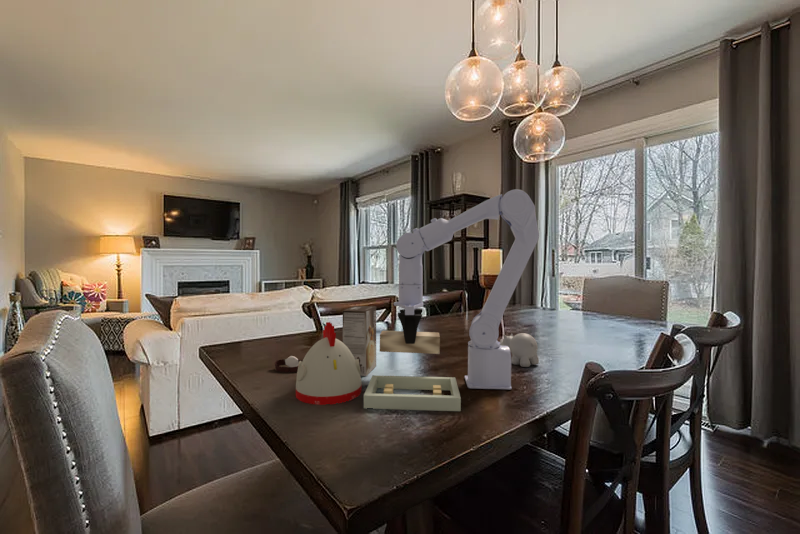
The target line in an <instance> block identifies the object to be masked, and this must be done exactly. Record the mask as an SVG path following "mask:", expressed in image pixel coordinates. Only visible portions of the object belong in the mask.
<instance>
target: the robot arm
mask: <svg viewBox="0 0 800 534" xmlns="http://www.w3.org/2000/svg"><path fill="white" fill-rule="evenodd" d="M500 217H501V218H502V219H503V220H504V221H505V223H506V224H508V226H509V228H510V230H511V233H512V235H513V236H514V241H513V244H512V245H511V247H510V250H509V251H508V253H507V256H506V258H505V260H504V263H503V265H502V267H501V268H500V271H499V273H498V275H497V277H496V279H495V281H494V283H493V286H492V288H491V290H490V293H489V295H488V297H487V299H486V301H485V303H484V304H483V307H482V308H481V310H480V312H479V313H478V314H476V315H475V316H474V317H473V319H472V320H471V325H470V327H469V330H468V332H469V333H468V334H469V338H470V340H469V341H468V342H467V344H468V345H467V375H464V380H465V384H466V386H467V388H468V389H480V390H481V389H483V390H512V363H511V358H512V352H511V351H510V349H509V347H508V346H502V345H500V341H498V339H499V336H500V335H499V333H500V332H499V327H500V324H501V322H502V320H503V316H504V314H505V310H506V309H507V307H508V305H509V302H510V301H511V298H512V296H513V295H514V292H515V290H516V287H518V286H517V285H518V284H519V281H520V280H521V277H522V275H523V273H524V272H525V269H526V267H527V265H528V263H529V260H530V258H531V256H532V254H533V253H534V250H535V248H536V246H537V243H538V241H539V237H540V232H539V227H538V220H537V215H536V205H535V204H534V202H533V200H532V199H531V197H530V195H529V194H528V193H527V192H526V191H524V190H522V189H517V188H515V189H511V190H509V191H507V192H505V194H504V195H503V194H502V193H501V194H498V195H495V196H493V197H491V198H489V199H485V200H484V201H482V202H481V203H479V204H477V205H475V206H473V207H471V208H468V209H467V210H466V211H463V212H462V213H460V214H458V215H456V216H454V217H452V218H450V219H445V218H443V217H441V218H438V219H437V218H436V217H433V218H432V219H430V223H428V224H425V225H424V226H422V227H420V228H418V227H416V228H413V229H412V232H404V233H403V234H402V235H401V236H400V237H399V238H398V239H397V241H396V246H395V247H396V250H397V252H398V254H399V255H398V256H399V257H398V262H399V264H398V301H395V302H393V306H396V307H397V306H398V307H399V308H401V309H400V310H399V312H398V313H397V317H398V319H399V321H400V324H401V327H402V331H403V333H404V339H405V343H406V344H415V340H416V334H417V332H418V327H419V324H420V321H421V320H422V318H423V314H422V313H423V308H422V307H424V302H423V301H424V300H423V298H424V297H423V295H424V294H423V286H424V283H423V280H424V279H423V275H424V273H423V271H424V269H423V268H424V267H423V254H424V253H425V251H426V252H429V251H431V250H432V251H433V250H434V249H435V248H438V247H440V246H442V245H444V244H446V243H448V242H450V241H452V240H453V238H454V237H453V236H454V234H455V233H456V232H459V231H461V230H463V229H466V228H467V227H470V226H472V225H475V224H477V223H479V222H481V221H484V220H494V221H495V220H496V221H499V220H500Z"/></svg>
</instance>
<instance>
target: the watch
mask: <svg viewBox="0 0 800 534" xmlns="http://www.w3.org/2000/svg"><path fill="white" fill-rule="evenodd" d="M299 361H303V359H298V358H297V357H296V356H293V355H290V356H289V357H287V358H286V359H285V358H284V359H278V360H276V361H275V362H274V366H275V371H276V372H280V373H288V372H289V373H297V371H298V365H299Z"/></svg>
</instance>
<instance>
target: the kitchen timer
mask: <svg viewBox="0 0 800 534" xmlns="http://www.w3.org/2000/svg"><path fill="white" fill-rule="evenodd" d="M323 327H324V330H322V335H323V338H321V339H320V340H318V341H316V342H315V343H314V344H313V345H312V346H311V347H310V349H309V350H308V351H307V352H306V354H305V355H304V358H303V359H302V360H303V361H299V365H298V371H297V372H296V381H295V398H296V399H297V400H298V401H300V402H302V403H306V404H309V405H317V406H319V405H320V406H323V405H325V406H326V404H330V405H337V404H336V403H338V404H343V403H346V401H347V402H350V401H353V400H355V399H357V398H359V396H360V395H362V389H363V387H362V386H363V385H362V376H360V373H361V371H360V365H359V359H356V360H355V358H354V356H353V355H352V353H351V351H350V350H349V349H348V347H347V346H346V345H345V344H344V343H343V341H341V340H340V339H338V338H337V337H336V336H337V334H336V333H337V332H335V325H333V323H331V321H329V322H328V321H327V322H325V325H324V326H323ZM356 397H357V398H356ZM354 398H355V399H354ZM352 399H353V400H352ZM349 400H350V401H349ZM342 402H343V403H342Z"/></svg>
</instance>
